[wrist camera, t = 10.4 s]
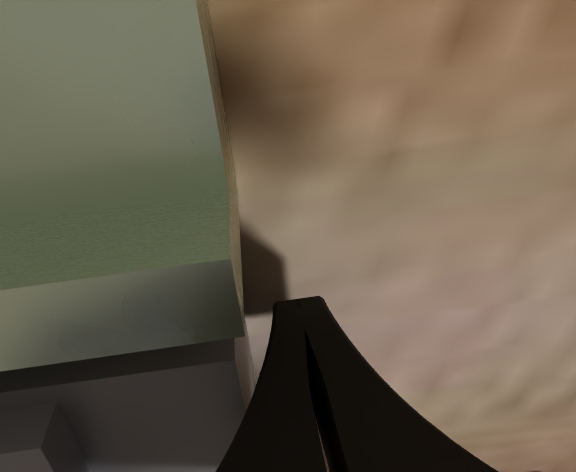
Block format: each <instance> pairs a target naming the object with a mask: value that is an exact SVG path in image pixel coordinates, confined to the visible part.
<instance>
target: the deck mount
mask: <svg viewBox="0 0 576 472" xmlns="http://www.w3.org/2000/svg"><path fill="white" fill-rule="evenodd" d="M244 336H245V324H244V305H243V285H242V266H241V246H240V227H239V207H238V190H237V184H236V178H235V172H234V165H233V159H232V153H231V147H230V141H229V135H228V129H227V123H226V116H225V110H224V104H223V98H222V92H221V86H220V80H219V74H218V67H217V61H216V55H215V49H214V43H213V37H212V31H211V25H210V18H209V12H208V6H207V0H0V371H7V370H14V369H21V368H28V367H35V366H42V365H49V364H56V363H63V362H70V361H77V360H84V359H91V358H98V357H105V356H112V355H119V354H126V353H133V352H140V351H147V350H154V349H161V348H168V347H175V346H182V345H189V344H195V343H202V342H209V341H216V340H223V339H230V338H237V337H244Z"/></svg>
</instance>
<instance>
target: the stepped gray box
mask: <svg viewBox="0 0 576 472" xmlns="http://www.w3.org/2000/svg"><path fill="white" fill-rule="evenodd" d="M244 324H245V336H244V337H237V338H230V339H223V340H216V341H209V342H202V343H195V344H189V345H182V346H175V347H168V348H161V349H154V350H147V351H140V352H133V353H126V354H119V355H112V356H105V357H98V358H91V359H84V360H77V361H70V362H63V363H56V364H49V365H42V366H35V367H28V368H21V369H14V370H7V371H0V472H216V470H217V468H218V467H219V465H220V463H221V461H222V460H223V458H224V456H225V454H226V452H227V450H228V449H229V447H230V445H231V443H232V441H233V439H234V437H235V434H236V432H237V430H238V428H239V426H240V424H241V422H242V420H243V417H244V415H245V413H246V410H247V408H248V406H249V403H250V401H251V398H252V395H253V393H254V390H255V386H254V371H253V362H252V357H251V351H250V345H249V339H248V334H247V328H246V322H245V316H244Z"/></svg>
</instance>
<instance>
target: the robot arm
mask: <svg viewBox="0 0 576 472" xmlns="http://www.w3.org/2000/svg"><path fill="white" fill-rule="evenodd" d="M315 418H316V419H315ZM316 422H317V424H316ZM317 425H318V429H319V433H320V436H321V440H322V444H323V447H324V451H325V455H326V458H327V462H328V466H329V470H330V472H498V471H497V470H495V469H493V468H492V467H490V466H489V465H487V464H486V463H484V462H483V461H481V460H480V459H478V458H477V457H475V456H474V455H472V454H471V453H469V452H468V451H467V450H465V449H464V448H462V447H461V446H460V445H458V444H457V443H455V442H454V441H453V440H451V439H450V438H449V437H448V436H446V435H445V434H444V433H443V432H441V431H440V430H439V429H437V428H436V427H435V426H434V425H432V424H431V423H430V422H429V421H427V420H426V419H425V418H424V417H422V416H421V415H420V414H419V413H418V412H417V411H416V410H414V409H413V408H412V407H411V406H410V405H409V404H408V403H407V402H406V401H404V400H403V399H402V398H401V397H400V396H399V395H398V394H397V393H396V392H395V391H394V390H393V389H392V388H391V387H390V386H389V385H388V384H387V383H386V382H385V381H384V380H383V379H382V378H381V377H380V376H379V374H378V373H377V372H376V371H375V370H374V369H373V368H372V367H371V365H370V364H369V363H368V362H367V361H366V360H365V358H364V357H363V356H362V355H361V354H360V352H359V351H358V350H357V349H356V347H355V346H354V345H353V343H352V342H351V341H350V340H349V338H348V337H347V336H346V334H345V333H344V331H343V330H342V329H341V327H340V326H339V324H338V323H337V321H336V320H335V318H334V317H333V315H332V313H331V312H330V310H329V308H328V306H327V305H326V303H325V301H324V299H323V298H322V297H320V296H315V297H308V298H300V299H293V300H286V301H279V302H276V303H275V304H274V305H273V318H272V327H271V333H270V338H269V343H268V347H267V351H266V355H265V359H264V362H263V366H262V369H261V372H260V375H259V378H258V381H257V384H256V387H255V390H254V393H253V395H252V398H251V401H250V403H249V406H248V408H247V410H246V413H245V415H244V417H243V420H242V422H241V424H240V426H239V428H238V430H237V432H236V434H235V437H234V439H233V441H232V443H231V445H230V447H229V449H228V450H227V452H226V454H225V456H224V458H223V460H222V461H221V463H220V465H219V467H218V468H217V470H216V472H327V471H326V466H325V461H324V457H323V452H322V448H321V443H320V438H319V433H318V429H317Z"/></svg>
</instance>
